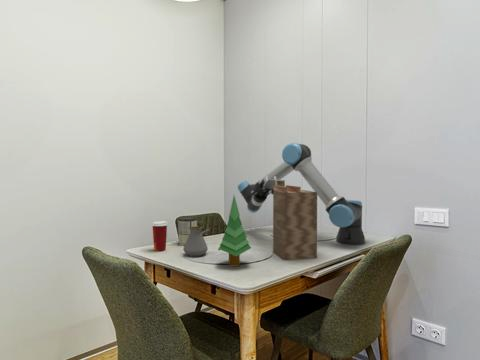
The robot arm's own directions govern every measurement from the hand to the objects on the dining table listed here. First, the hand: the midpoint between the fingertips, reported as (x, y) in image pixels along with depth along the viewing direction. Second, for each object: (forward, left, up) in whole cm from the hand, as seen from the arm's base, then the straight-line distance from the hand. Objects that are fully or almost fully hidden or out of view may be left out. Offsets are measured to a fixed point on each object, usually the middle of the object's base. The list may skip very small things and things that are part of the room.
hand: (271, 178), depth 176 cm
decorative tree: (+27, +29, -36) cm, 53 cm away
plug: (0, +3, -5) cm, 6 cm away
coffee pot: (+36, +7, -36) cm, 51 cm away
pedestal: (-4, +21, -35) cm, 41 cm away
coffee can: (+42, -16, -36) cm, 57 cm away
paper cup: (+57, -5, -36) cm, 67 cm away
